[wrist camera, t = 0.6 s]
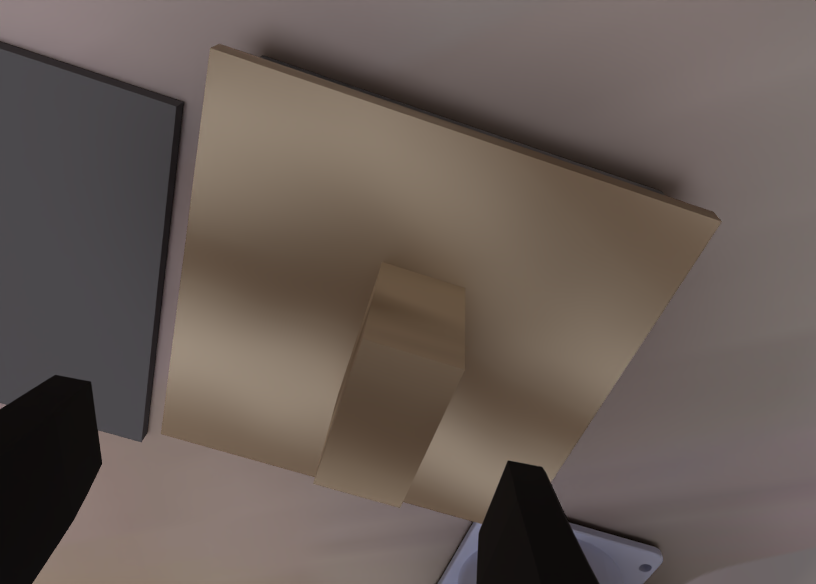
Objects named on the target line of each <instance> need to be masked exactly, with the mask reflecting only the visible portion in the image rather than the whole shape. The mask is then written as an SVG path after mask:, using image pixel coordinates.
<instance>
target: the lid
mask: <svg viewBox="0 0 816 584" xmlns="http://www.w3.org/2000/svg"><path fill="white" fill-rule="evenodd" d="M721 222H722V221H721V220H720V219H719V218H718V217H717V216H716V214H715V213H714V212H712V211H709V210H706V209H703V208H700V207H697V206H694V205H691V204H688V203H685V202H683V201H680V200H677V199H674V198H671V197H668V196H665V195H662V194H659V193H656V192H653V191H650V190H647V189H644V188H641V187H638V186H636V185H633V184H630V183H627V182H624V181H621V180H618V179H615V178H612V177H609V176H606V175H603V174H600V173H597V172H594V171H591V170H589V169H586V168H583V167H580V166H577V165H574V164H571V163H568V162H565V161H562V160H559V159H556V158H553V157H550V156H547V155H545V154H542V153H539V152H536V151H533V150H530V149H527V148H524V147H521V146H518V145H515V144H512V143H509V142H506V141H503V140H500V139H498V138H495V137H492V136H489V135H486V134H483V133H480V132H477V131H474V130H471V129H468V128H465V127H462V126H459V125H456V124H453V123H451V122H448V121H445V120H442V119H439V118H436V117H433V116H430V115H427V114H424V113H421V112H418V111H415V110H412V109H409V108H406V107H404V106H401V105H398V104H395V103H392V102H389V101H386V100H383V99H380V98H377V97H374V96H371V95H368V94H365V93H362V92H359V91H357V90H354V89H351V88H348V87H345V86H342V85H339V84H336V83H333V82H330V81H327V80H324V79H321V78H318V77H315V76H312V75H310V74H307V73H304V72H301V71H298V70H295V69H292V68H289V67H286V66H283V65H280V64H277V63H274V62H271V61H268V60H266V59H263V58H260V57H257V56H254V55H251V54H248V53H245V52H242V51H239V50H236V49H233V48H230V47H227V46H224V45H221V44H218V45H216V46H213V47H211V48H210V54H209V61H208V69H207V77H206V85H205V93H204V101H203V108H202V116H201V124H200V132H199V140H198V148H197V156H196V163H195V171H194V179H193V187H192V195H191V203H190V210H189V218H188V226H187V234H186V242H185V250H184V257H183V265H182V273H181V281H180V289H179V297H178V304H177V312H176V320H175V328H174V336H173V344H172V352H171V359H170V367H169V375H168V383H167V391H166V399H165V406H164V414H163V422H162V430H161V434H163V435H166V436H170V437H173V438H177V439H181V440H184V441H188V442H191V443H195V444H198V445H202V446H206V447H209V448H213V449H216V450H220V451H223V452H227V453H230V454H234V455H238V456H241V457H245V458H248V459H252V460H255V461H259V462H263V463H266V464H270V465H273V466H277V467H280V468H284V469H288V470H291V471H295V472H298V473H302V474H305V475H309V476H312V477H315V479H314V483H313V484H316V485H320V486H323V487H327V488H330V489H334V490H337V491H341V492H345V493H348V494H352V495H355V496H359V497H363V498H366V499H370V500H373V501H377V502H380V503H384V504H388V505H391V506H395V507H398V508H400V507H401V505H402V503H403V502H405V503H409V504H412V505H416V506H419V507H423V508H427V509H430V510H434V511H437V512H441V513H444V514H448V515H451V516H455V517H459V518H462V519H466V520H469V521H473V522H476V523H480V524H482V523H483V521H484V518H485V516H486V513H487V511H488V508H489V506H490V503H491V501H492V498H493V496H494V493H495V491H496V488H497V486H498V483H499V481H500V479H501V476H502V474H503V471H504V469H505V466H506V464H507V461H508V460H509V461H514V462H519V463H525V464H530V465H535V466H541V467H543V469H544V470H545V472H546V473H547V476H548V478H549V480H550V482H552V480H553V479H554V477H555V476H556V474H557V472H558V471H559V469H560V468H561V466H562V465H563V463H564V462H565V460H566V459H567V457H568V456H569V454H570V453H571V451H572V450H573V448H574V447H575V445H576V443H577V442H578V440H579V439H580V437H581V436H582V434H583V433H584V431H585V430H586V428H587V427H588V425H589V424H590V422H591V421H592V419H593V418H594V416H595V414H596V413H597V411H598V410H599V408H600V407H601V405H602V404H603V402H604V401H605V399H606V398H607V396H608V395H609V393H610V392H611V390H612V389H613V387H614V385H615V384H616V382H617V381H618V379H619V378H620V376H621V375H622V373H623V372H624V370H625V369H626V367H627V366H628V364H629V363H630V361H631V360H632V358H633V356H634V355H635V353H636V352H637V350H638V349H639V347H640V346H641V344H642V343H643V341H644V340H645V338H646V337H647V335H648V334H649V332H650V331H651V329H652V327H653V326H654V324H655V323H656V321H657V320H658V318H659V317H660V315H661V314H662V312H663V311H664V309H665V308H666V306H667V305H668V303H669V302H670V300H671V298H672V297H673V295H674V294H675V292H676V291H677V289H678V288H679V286H680V285H681V283H682V282H683V280H684V279H685V277H686V276H687V274H688V273H689V271H690V269H691V268H692V266H693V265H694V263H695V262H696V260H697V259H698V257H699V256H700V254H701V253H702V251H703V250H704V248H705V247H706V245H707V244H708V242H709V240H710V239H711V237H712V236H713V234H714V233H715V231H716V230H717V228H718V227H719V225H720V224H721Z"/></svg>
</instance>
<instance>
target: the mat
mask: <svg viewBox="0 0 816 584" xmlns="http://www.w3.org/2000/svg"><path fill="white" fill-rule="evenodd" d="M182 111H183V102H181V101H178V100H175V99H172V98H169V97H166V96H163V95H160V94H157V93H154V92H151V91H148V90H145V89H142V88H139V87H136V86H133V85H130V84H127V83H124V82H121V81H118V80H115V79H112V78H109V77H106V76H103V75H100V74H97V73H94V72H91V71H88V70H85V69H81V68H78V67H75V66H72V65H69V64H66V63H63V62H60V61H57V60H54V59H51V58H48V57H45V56H42V55H39V54H36V53H33V52H30V51H27V50H24V49H21V48H18V47H15V46H12V45H9V44H6V43H3V42H0V403H2V404H6V405H8V404H9V403H11V402H12V401H14V400H15V399H17V398H19V397H20V396H22V395H23V394H25V393H27V392H28V391H30V390H31V389H33V388H35V387H36V386H38V385H39V384H41V383H43V382H44V381H46V380H47V379H49V378H51V377H52V376H54V375H59V376H65V377H70V378H75V379H80V380H86V381H91V384H92V391H93V399H94V406H95V414H96V421H97V429H98V430H99V431H103V432H107V433H110V434H114V435H117V436H121V437H125V438H128V439H132V440H135V441H139V442H142V440H143V439H144V437H145V436H146V434H147V429H148V420H149V411H150V402H151V393H152V384H153V375H154V366H155V357H156V347H157V338H158V329H159V320H160V311H161V302H162V293H163V284H164V275H165V266H166V257H167V247H168V238H169V229H170V220H171V211H172V202H173V193H174V184H175V175H176V166H177V157H178V147H179V138H180V129H181V120H182Z"/></svg>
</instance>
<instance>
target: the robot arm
mask: <svg viewBox="0 0 816 584" xmlns="http://www.w3.org/2000/svg"><path fill="white" fill-rule="evenodd" d="M101 465H102V459H101V451H100V444H99V436H98V429H97V421H96V414H95V406H94V399H93V391H92V384H91V381H86V380H80V379H75V378H70V377H65V376H59V375H54V376H52V377H51V378H49V379H47V380H46V381H44V382H43V383H41V384H39V385H38V386H36V387H35V388H33V389H31V390H30V391H28V392H27V393H25V394H23V395H22V396H20V397H19V398H17V399H15V400H14V401H12V402H11V403H9V404H8V405H6V406H5V407H3V408H1V409H0V584H32V583H33V581H34V580H35V578H36V577H37V575H38V574H39V572H40V571H41V569H42V568H43V566H44V565H45V563H46V562H47V560H48V559H49V557H50V556H51V554H52V553H53V551H54V550H55V548H56V547H57V545H58V544H59V542H60V541H61V539H62V537H63V536H64V534H65V533H66V531H67V530H68V528H69V527H70V525H71V524H72V522H73V520H74V519H75V517H76V515H77V513H78V511H79V509H80V507H81V505H82V503H83V501H84V499H85V498H86V496H87V494H88V492H89V490H90V487H91V485H92V483H93V481H94V479H95V477H96V475H97V473H98V471H99V469H100V467H101ZM662 562H663V556H662V553H661V551H660V550H659V549H658V548H656V547H654V546H650V545H647V544H643V543H640V542H636V541H633V540H629V539H626V538H622V537H619V536H615V535H611V534H608V533H604V532H601V531H597V530H594V529H590V528H587V527H583V526H580V525H576V524H573V523H569V522H568V520H567V517H566V515H565V513H564V511H563V509H562V507H561V505H560V502H559V500H558V498H557V496H556V493H555V491H554V489H553V487H552V485H551V482H550V480H549V478H548V476H547V473H546V472H545V470H544V469H543V467H541V466H535V465H530V464H525V463H519V462H514V461H509V460H508V461H507V464H506V466H505V469H504V471H503V474H502V476H501V479H500V481H499V483H498V486H497V488H496V491H495V493H494V496H493V498H492V501H491V503H490V506H489V508H488V511H487V513H486V516H485V518H484V521H483V523H482V524H480V523H476V522H473V524H472V525H471V527H470V529H469V531H468V532H467V534H466V536H465V538H464V539H463V541H462V543H461V544H460V546H459V548H458V550H457V551H456V553H455V555H454V556H453V558H452V560H451V562H450V563H449V565H448V567H447V568H446V570H445V572H444V574H443V575H442V577H441V579H440V580H439V582H438V584H644V582H645V581H646V580H647V579H648V578H649V577H650V576H651V575H652V574H653V572H654V571H655V570H656V569H657V568H658V567H659V566H660V565H661V564H662Z"/></svg>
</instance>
